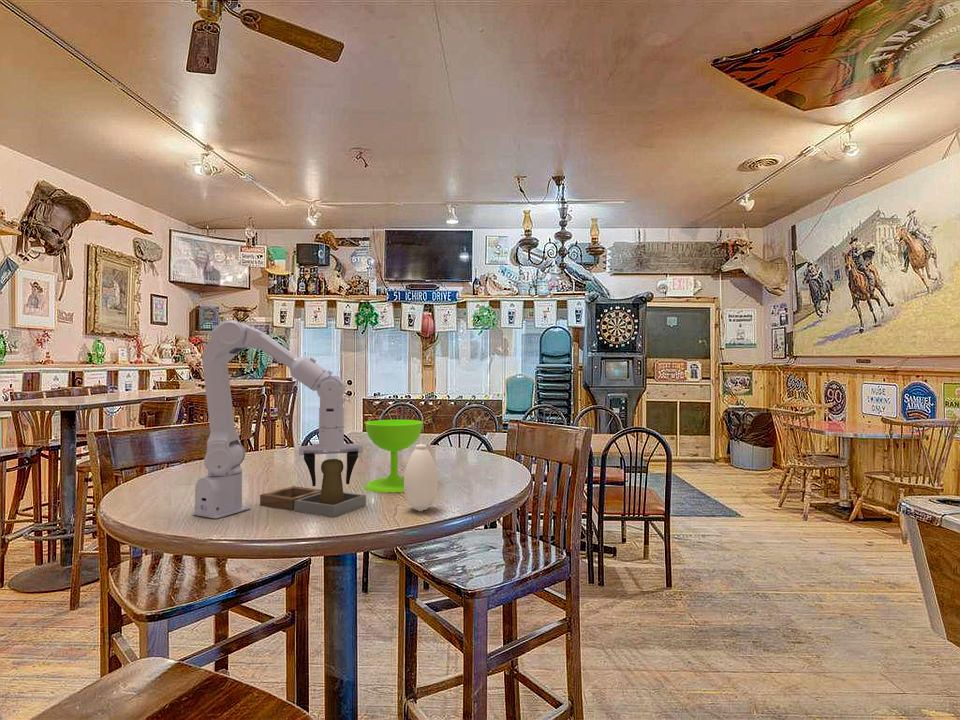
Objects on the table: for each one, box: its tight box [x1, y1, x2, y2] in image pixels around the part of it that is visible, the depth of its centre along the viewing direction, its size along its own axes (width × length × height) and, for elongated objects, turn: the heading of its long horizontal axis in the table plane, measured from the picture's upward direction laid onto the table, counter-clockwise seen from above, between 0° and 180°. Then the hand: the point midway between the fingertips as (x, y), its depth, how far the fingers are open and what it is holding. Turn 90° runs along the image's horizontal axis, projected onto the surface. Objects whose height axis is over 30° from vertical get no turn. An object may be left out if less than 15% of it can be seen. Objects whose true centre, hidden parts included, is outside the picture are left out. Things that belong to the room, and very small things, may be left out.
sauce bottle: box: [403, 433, 439, 512], centre depth 126 cm, size 8×8×18 cm
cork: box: [319, 458, 344, 505], centre depth 128 cm, size 6×6×11 cm
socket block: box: [259, 485, 321, 511], centre depth 132 cm, size 11×11×2 cm
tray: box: [293, 491, 367, 518], centre depth 127 cm, size 12×12×2 cm
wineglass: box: [364, 419, 424, 493], centre depth 150 cm, size 16×16×18 cm
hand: (331, 484), depth 127 cm, fingers open, 7 cm apart
